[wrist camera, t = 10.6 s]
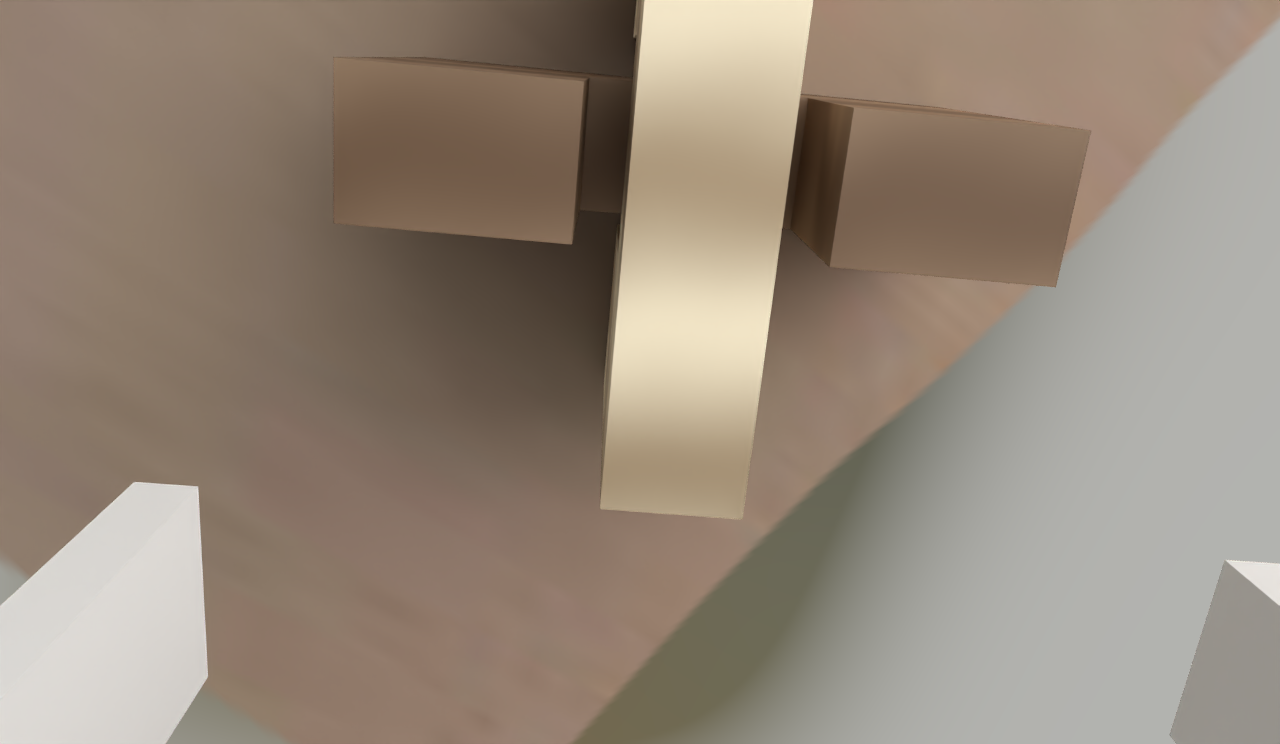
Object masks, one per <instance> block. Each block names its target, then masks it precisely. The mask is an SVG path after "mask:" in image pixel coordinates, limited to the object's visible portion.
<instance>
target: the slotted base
mask: <svg viewBox="0 0 1280 744" xmlns="http://www.w3.org/2000/svg"><path fill="white" fill-rule="evenodd" d="M632 84H633V78H632V77H621V76H611V75H601V74H590V73H580V72H570V71H560V70H549V69H539V68H529V67H518V66H508V65H498V64H488V63H477V62H467V61H457V60H446V59H436V58H426V57H334V224H345V225H356V226H368V227H379V228H390V229H402V230H413V231H424V232H436V233H447V234H458V235H470V236H481V237H492V238H504V239H515V240H526V241H538V242H549V243H560V244H572V241H573V237H574V233H575V228H576V224H577V220H578V215H579V211H580V210H587V211H598V212H609V213H620V214H621V211H622V199H623V188H624V176H625V165H626V153H627V142H628V130H629V118H630V107H631V95H632ZM1090 134H1091V131H1090V130H1084V129H1077V128H1070V127H1064V126H1057V125H1051V124H1044V123H1038V122H1031V121H1025V120H1018V119H1012V118H1005V117H999V116H992V115H986V114H979V113H973V112H966V111H960V110H953V109H947V108H940V107H930V106H920V105H909V104H899V103H889V102H878V101H868V100H858V99H848V98H837V97H827V96H817V95H806V94H800V101H799V108H798V115H797V123H796V130H795V137H794V145H793V152H792V159H791V167H790V174H789V181H788V189H787V196H786V204H785V211H784V218H783V226H782V228H787V229H791V230H792V231H793V232H794V233H795V234H796V235H797V236H798V237H799V238H800V239H801V240H802V241H803V242H804V243H805V244H806V245H807V246H808V247H809V248H810V249H811V250H812V251H813V252H815V253H816V254H817V255H818V256H819V257H820V258H821V259H822V260H823V261H824V262H825V263H826V264H827V265H828V266H829V267H832V268H844V269H855V270H866V271H878V272H889V273H900V274H912V275H923V276H934V277H946V278H957V279H968V280H980V281H991V282H1002V283H1014V284H1025V285H1036V286H1049V287H1056V284H1057V280H1058V275H1059V271H1060V267H1061V262H1062V258H1063V253H1064V249H1065V244H1066V240H1067V236H1068V231H1069V227H1070V222H1071V218H1072V213H1073V209H1074V205H1075V200H1076V196H1077V191H1078V187H1079V182H1080V178H1081V174H1082V169H1083V165H1084V160H1085V156H1086V151H1087V147H1088V143H1089V138H1090Z"/></svg>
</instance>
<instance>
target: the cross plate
mask: <svg viewBox="0 0 1280 744" xmlns="http://www.w3.org/2000/svg"><path fill="white" fill-rule="evenodd" d="M812 5H813V0H636V11H635V23H634V35H633V38H636V49H635V61H634V72H633V84H632V95H631V107H630V118H629V130H628V142H627V153H626V165H625V176H624V188H623V199H622V211H621V223H620V225H617V234H616V245H615V257H614V269H613V280H612V292H611V304H610V316H609V327H608V339H607V351H606V362H605V374H604V401H603V431H602V461H601V490H600V509H605V510H619V511H632V512H646V513H660V514H673V515H687V516H701V517H714V518H728V519H741V520H742V519H743V512H744V505H745V497H746V490H747V483H748V475H749V468H750V460H751V453H752V446H753V438H754V431H755V424H756V416H757V409H758V402H759V394H760V387H761V380H762V372H763V365H764V358H765V350H766V343H767V336H768V328H769V321H770V314H771V306H772V299H773V292H774V284H775V277H776V270H777V262H778V255H779V248H780V240H781V233H782V226H783V218H784V211H785V204H786V196H787V189H788V181H789V174H790V167H791V159H792V152H793V145H794V137H795V130H796V123H797V115H798V108H799V101H800V93H801V86H802V79H803V71H804V64H805V57H806V49H807V42H808V35H809V27H810V20H811V13H812Z"/></svg>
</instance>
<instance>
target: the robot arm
mask: <svg viewBox="0 0 1280 744" xmlns="http://www.w3.org/2000/svg"><path fill="white" fill-rule="evenodd" d="M207 678H208V668H207V649H206V629H205V610H204V591H203V571H202V552H201V532H200V513H199V494H198V486H184V485H170V484H156V483H142V482H134V483H133V484H132V485H130V486H129V487H128V488H127V489H126V490H125V491H124V492H123V493H122V494H121V495H120V496H119V497H117V498H116V499H115V500H114V501H113V502H112V503H111V504H110V505H109V506H108V507H107V508H106V509H104V510H103V511H102V512H101V513H100V514H99V515H98V516H97V517H96V518H95V519H94V520H93V521H91V522H90V523H89V524H88V525H87V526H86V527H85V528H84V529H83V530H82V531H81V532H80V533H78V534H77V535H76V536H75V537H74V538H73V539H72V540H71V541H70V542H69V543H68V544H67V545H65V546H64V547H63V548H62V549H61V550H60V551H59V552H58V553H57V554H56V555H55V556H54V557H52V558H51V559H50V560H49V561H48V562H47V563H46V564H45V565H44V566H43V567H42V568H41V569H39V570H38V571H37V572H36V573H35V574H34V575H33V576H32V577H31V578H30V579H29V580H28V581H26V582H25V583H24V584H23V585H22V586H21V587H20V588H19V589H18V590H17V591H16V592H15V593H14V594H12V595H11V596H10V597H9V598H8V599H7V600H6V601H5V602H4V603H3V604H2V605H1V606H0V744H166V742H167V741H168V739H169V737H170V736H171V734H172V733H173V731H174V730H175V728H176V726H177V725H178V723H179V722H180V720H181V718H182V717H183V715H184V714H185V712H186V711H187V709H188V707H189V706H190V704H191V703H192V701H193V700H194V698H195V696H196V695H197V693H198V692H199V690H200V689H201V687H202V685H203V684H204V682H205V681H206V679H207ZM1170 736H1171V738H1172V739H1173V740H1174V741H1175V743H1176V744H1280V564H1276V563H1262V562H1247V561H1233V560H1225V561H1224V564H1223V567H1222V570H1221V574H1220V577H1219V580H1218V583H1217V586H1216V590H1215V593H1214V596H1213V599H1212V602H1211V605H1210V609H1209V612H1208V615H1207V618H1206V621H1205V624H1204V628H1203V631H1202V634H1201V637H1200V640H1199V643H1198V647H1197V650H1196V653H1195V656H1194V659H1193V662H1192V665H1191V669H1190V672H1189V675H1188V678H1187V681H1186V685H1185V688H1184V691H1183V694H1182V697H1181V700H1180V704H1179V707H1178V710H1177V713H1176V716H1175V719H1174V723H1173V726H1172V729H1171V732H1170Z"/></svg>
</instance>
